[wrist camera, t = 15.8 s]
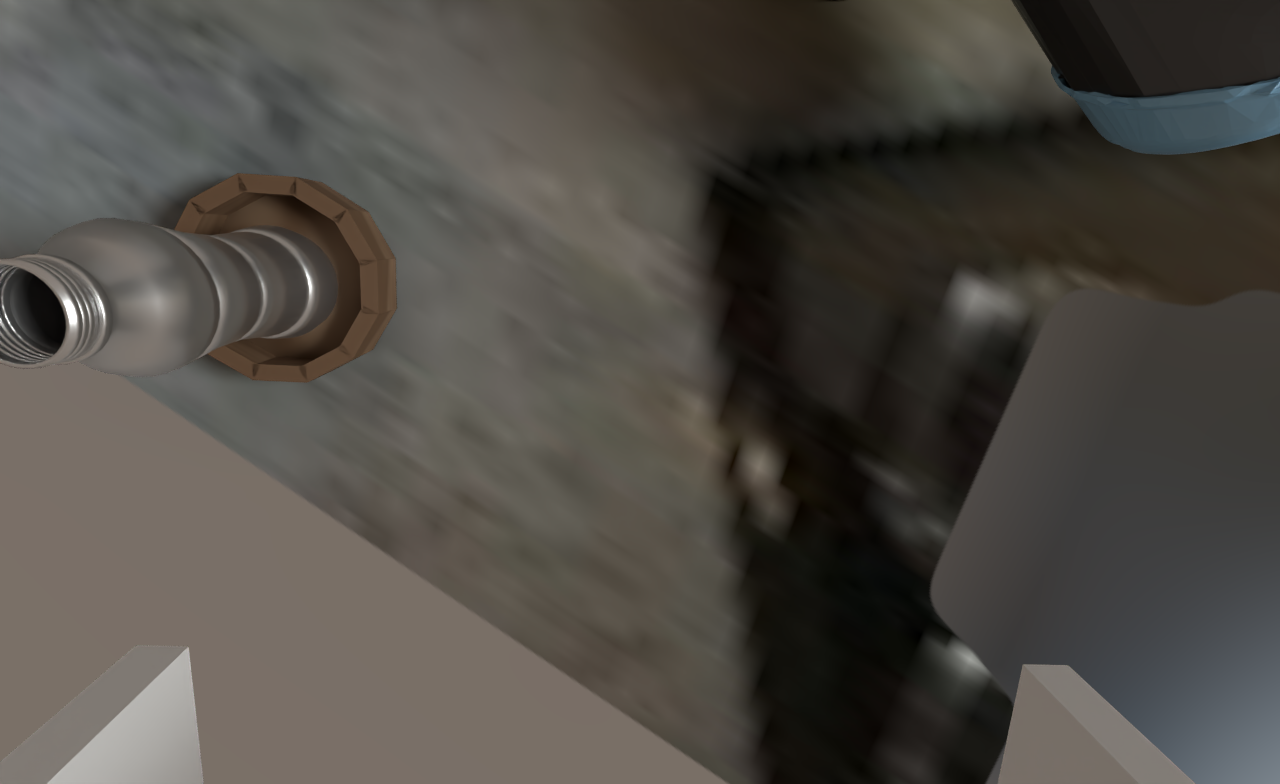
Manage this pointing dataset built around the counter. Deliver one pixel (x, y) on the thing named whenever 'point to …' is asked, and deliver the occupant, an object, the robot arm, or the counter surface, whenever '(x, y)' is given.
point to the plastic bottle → (157, 295)
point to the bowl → (345, 242)
